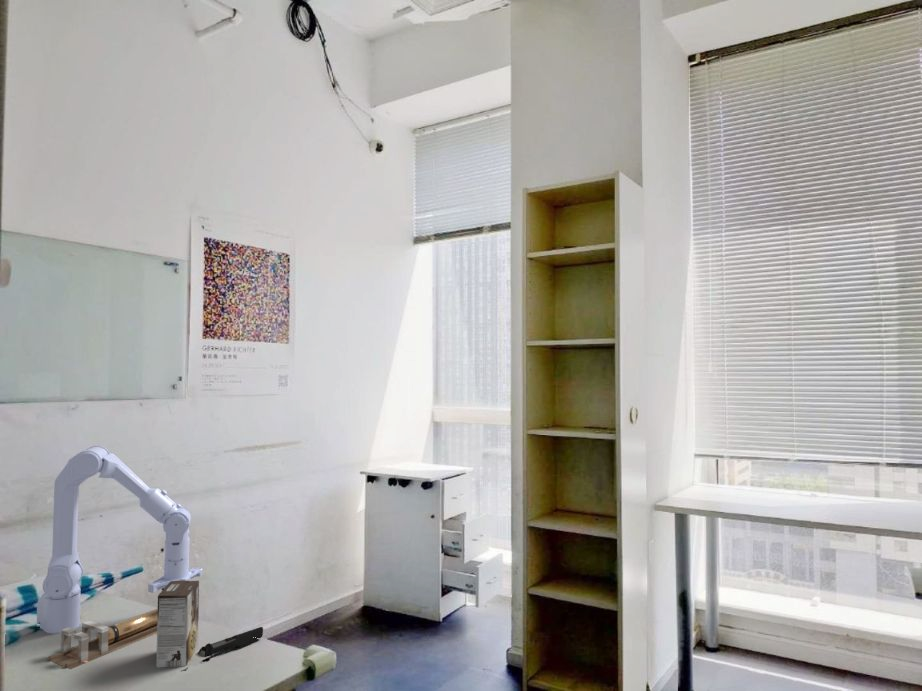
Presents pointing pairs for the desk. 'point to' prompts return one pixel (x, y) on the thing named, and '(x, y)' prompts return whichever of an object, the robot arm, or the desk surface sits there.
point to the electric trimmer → (230, 643)
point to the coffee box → (177, 623)
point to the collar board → (91, 644)
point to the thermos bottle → (131, 626)
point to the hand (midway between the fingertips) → (175, 612)
